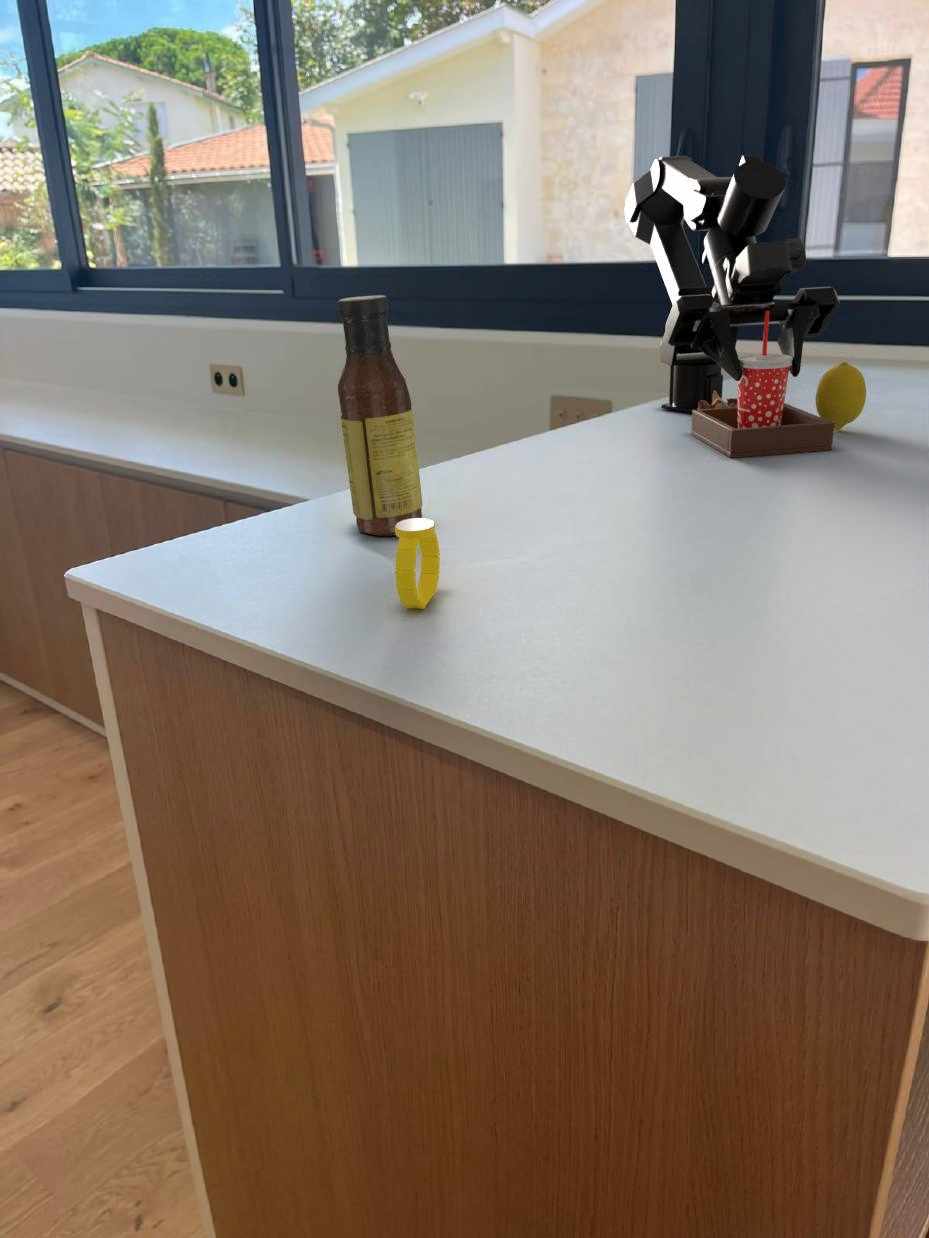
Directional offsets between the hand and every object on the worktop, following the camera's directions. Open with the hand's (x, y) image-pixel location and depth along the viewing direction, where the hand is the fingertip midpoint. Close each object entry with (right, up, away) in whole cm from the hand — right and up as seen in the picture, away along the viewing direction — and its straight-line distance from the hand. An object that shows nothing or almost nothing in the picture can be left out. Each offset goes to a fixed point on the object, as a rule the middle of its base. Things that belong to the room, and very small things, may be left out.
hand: (768, 376), depth 105 cm
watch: (-37, -26, -37) cm, 58 cm away
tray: (0, -6, +4) cm, 8 cm away
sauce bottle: (-41, -19, -20) cm, 49 cm away
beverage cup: (0, -6, +4) cm, 7 cm away
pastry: (0, -1, +17) cm, 17 cm away
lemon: (+11, -5, +8) cm, 14 cm away
